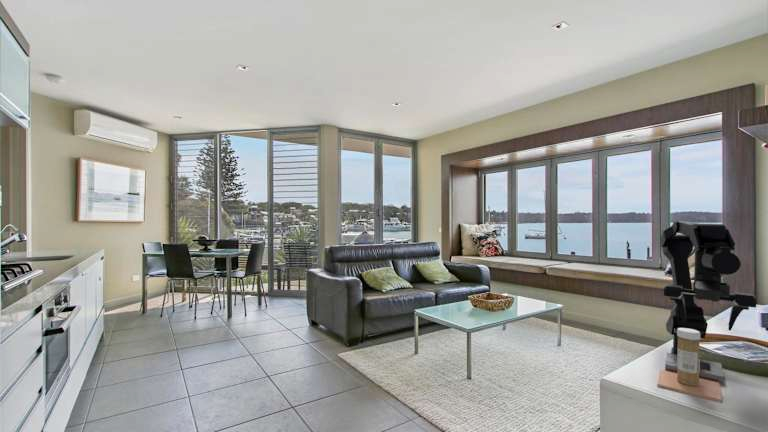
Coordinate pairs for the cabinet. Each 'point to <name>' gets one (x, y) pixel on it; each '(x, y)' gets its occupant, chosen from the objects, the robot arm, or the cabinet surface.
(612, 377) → the cabinet surface
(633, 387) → the cabinet surface
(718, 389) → the terracotta tile
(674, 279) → the robot arm
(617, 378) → the cabinet surface
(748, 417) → the cabinet surface
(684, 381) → the sprinkles bottle
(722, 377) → the collar stand
